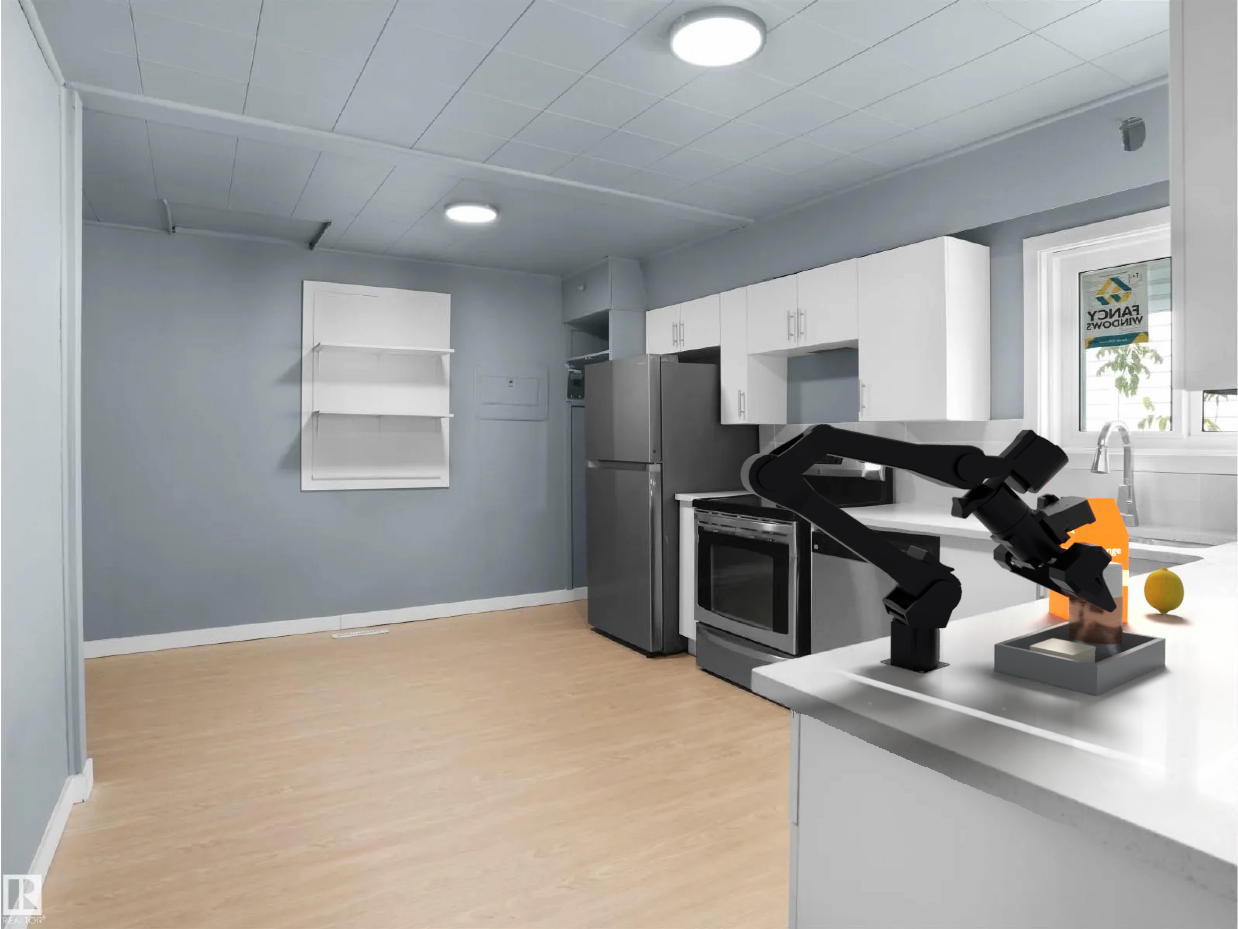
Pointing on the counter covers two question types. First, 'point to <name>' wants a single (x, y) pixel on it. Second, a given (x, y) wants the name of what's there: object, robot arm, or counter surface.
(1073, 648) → the cream smooth square block
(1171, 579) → the lemon
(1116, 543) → the orange juice
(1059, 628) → the grey rectangular tray
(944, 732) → the counter surface
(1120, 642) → the steel tin
